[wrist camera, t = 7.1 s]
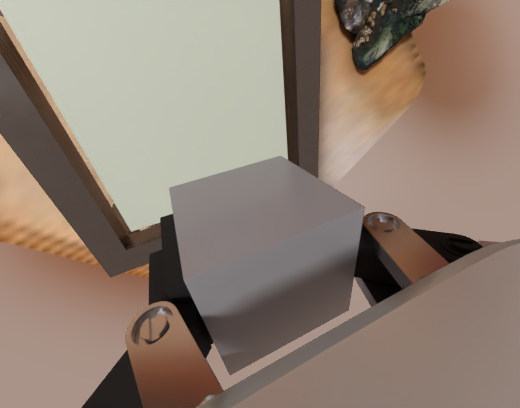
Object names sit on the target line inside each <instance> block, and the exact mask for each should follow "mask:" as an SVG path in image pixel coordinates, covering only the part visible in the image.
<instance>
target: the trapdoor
mask: <svg viewBox="0 0 520 408" xmlns="http://www.w3.org/2000/svg"><path fill="white" fill-rule="evenodd" d="M0 10H1V12H2V14H3V15H4V17H5V19H6V21H7V22H8V24H9V26H10V27H11V29H12V31H13V32H14V34H15V36H16V37H17V39H18V41H19V43H20V44H21V46H22V48H23V49H24V51H25V53H26V54H27V56H28V58H29V59H30V61H31V63H32V65H33V66H34V68H35V70H36V71H37V73H38V75H39V76H40V78H41V80H42V81H43V83H44V85H45V87H46V88H47V90H48V92H49V93H50V95H51V97H52V98H53V100H54V102H55V103H56V105H57V107H58V109H59V110H60V112H61V114H62V115H63V117H64V119H65V120H66V122H67V124H68V126H69V127H70V129H71V131H72V132H73V134H74V136H75V137H76V139H77V141H78V142H79V144H80V146H81V148H82V149H83V151H84V153H85V154H86V156H87V158H88V159H89V161H90V163H91V164H92V166H93V168H94V170H95V171H96V173H97V175H98V176H99V178H100V180H101V181H102V183H103V185H104V186H105V188H106V190H107V192H108V193H109V195H110V197H111V198H112V200H113V202H114V203H115V205H116V207H117V209H118V210H119V212H120V214H121V215H122V217H123V219H124V220H125V222H126V224H127V225H128V227H129V229H130V231H131V232H132V231H135V230H138V229H141V228H144V227H147V226H151V225H154V224H157V223H160V218H161V217H164V216H167V215H170V214H173V210H172V204H171V198H170V192H169V188H170V187H173V186H176V185H180V184H183V183H187V182H190V181H194V180H197V179H201V178H204V177H208V176H211V175H215V174H218V173H222V172H225V171H229V170H232V169H236V168H239V167H243V166H246V165H249V164H253V163H256V162H260V161H263V160H267V159H270V158H274V157H277V156H282V157H284V158H286V159H287V160H288V153H287V134H286V115H285V97H284V78H283V60H282V41H281V22H280V4H279V0H0Z"/></svg>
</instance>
